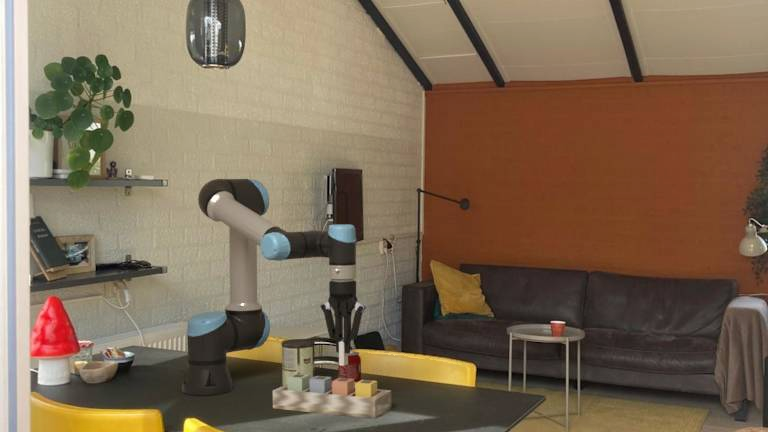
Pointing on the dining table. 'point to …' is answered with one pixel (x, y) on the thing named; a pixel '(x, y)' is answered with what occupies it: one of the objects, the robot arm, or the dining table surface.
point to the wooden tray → (332, 402)
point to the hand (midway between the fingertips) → (343, 364)
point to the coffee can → (297, 358)
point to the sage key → (298, 382)
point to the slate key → (320, 384)
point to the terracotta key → (343, 386)
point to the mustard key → (366, 388)
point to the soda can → (351, 367)
